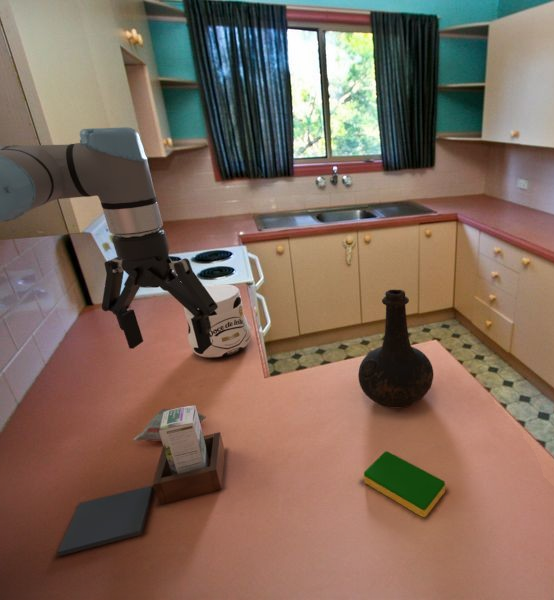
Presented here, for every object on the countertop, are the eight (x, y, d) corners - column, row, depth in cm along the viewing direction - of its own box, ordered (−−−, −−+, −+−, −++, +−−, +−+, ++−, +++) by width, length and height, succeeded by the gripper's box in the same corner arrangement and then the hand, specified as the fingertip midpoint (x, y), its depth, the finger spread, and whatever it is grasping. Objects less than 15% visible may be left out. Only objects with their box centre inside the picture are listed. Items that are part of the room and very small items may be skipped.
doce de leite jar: (235, 365, 120) (222, 307, 113) (179, 361, 123) (164, 305, 115) (262, 336, 136) (253, 283, 128) (213, 333, 138) (201, 281, 131)
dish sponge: (424, 519, 73) (424, 509, 72) (363, 482, 81) (362, 472, 80) (445, 491, 78) (445, 481, 77) (386, 459, 86) (385, 450, 85)
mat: (59, 556, 69) (56, 552, 68) (81, 506, 77) (79, 502, 77) (142, 534, 72) (140, 530, 71) (154, 489, 81) (152, 485, 80)
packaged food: (186, 451, 89) (180, 432, 87) (135, 447, 91) (128, 428, 89) (208, 424, 97) (204, 406, 95) (161, 420, 99) (155, 403, 97)
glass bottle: (349, 388, 109) (340, 286, 97) (411, 368, 116) (409, 272, 105) (379, 429, 94) (372, 315, 83) (447, 404, 101) (449, 297, 90)
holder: (159, 504, 77) (152, 484, 75) (169, 463, 86) (163, 444, 84) (221, 489, 80) (216, 469, 78) (224, 450, 89) (220, 432, 87)
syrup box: (179, 469, 85) (160, 411, 79) (211, 461, 87) (195, 403, 81) (176, 491, 80) (156, 430, 74) (210, 482, 82) (193, 421, 76)
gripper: (222, 226, 70) (245, 339, 78) (87, 225, 73) (123, 333, 82) (196, 238, 63) (224, 361, 71) (49, 236, 66) (92, 354, 75)
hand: (170, 346), depth 77 cm, fingers open, 13 cm apart
